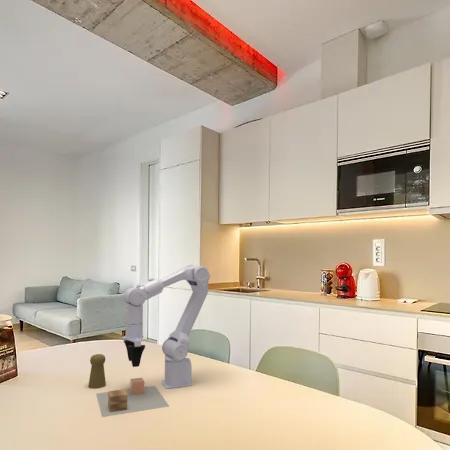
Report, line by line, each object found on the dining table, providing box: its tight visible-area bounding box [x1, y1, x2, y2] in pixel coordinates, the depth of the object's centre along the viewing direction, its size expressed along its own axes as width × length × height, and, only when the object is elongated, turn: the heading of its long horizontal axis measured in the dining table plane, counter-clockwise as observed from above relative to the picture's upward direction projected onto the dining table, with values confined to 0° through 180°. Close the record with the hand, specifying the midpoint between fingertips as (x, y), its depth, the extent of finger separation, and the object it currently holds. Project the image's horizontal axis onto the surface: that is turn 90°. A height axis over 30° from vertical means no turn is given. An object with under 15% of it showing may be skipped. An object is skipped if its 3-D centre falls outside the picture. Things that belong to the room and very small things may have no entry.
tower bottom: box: [108, 399, 127, 412], centre depth 118 cm, size 5×5×2 cm
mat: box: [95, 385, 170, 418], centre depth 124 cm, size 20×20×1 cm
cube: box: [129, 377, 145, 395], centre depth 131 cm, size 4×4×4 cm
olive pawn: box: [88, 353, 107, 390], centre depth 137 cm, size 6×6×11 cm
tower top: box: [107, 388, 127, 405], centre depth 118 cm, size 5×5×2 cm
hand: (133, 363), depth 131 cm, fingers open, 7 cm apart
